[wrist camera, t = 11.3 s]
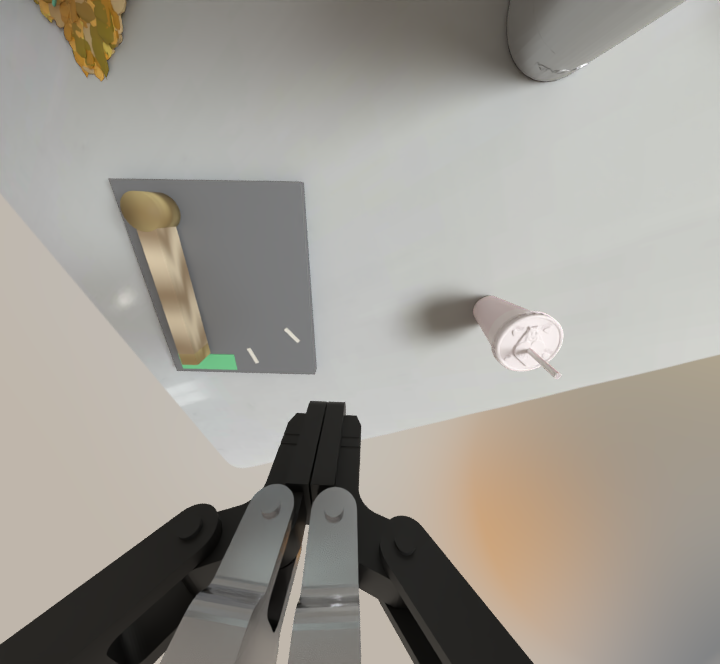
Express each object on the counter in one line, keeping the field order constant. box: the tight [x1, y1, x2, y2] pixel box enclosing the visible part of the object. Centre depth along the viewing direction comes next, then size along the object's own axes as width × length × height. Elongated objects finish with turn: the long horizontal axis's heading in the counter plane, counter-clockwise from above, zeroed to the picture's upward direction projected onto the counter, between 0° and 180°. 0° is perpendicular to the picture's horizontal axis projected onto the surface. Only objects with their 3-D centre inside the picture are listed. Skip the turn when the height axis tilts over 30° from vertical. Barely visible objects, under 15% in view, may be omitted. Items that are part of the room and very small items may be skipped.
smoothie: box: [473, 296, 563, 379], centre depth 27 cm, size 6×6×14 cm
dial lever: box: [120, 191, 211, 365], centre depth 30 cm, size 19×4×3 cm, turn 179°
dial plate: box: [109, 179, 317, 374], centre depth 33 cm, size 24×20×2 cm
